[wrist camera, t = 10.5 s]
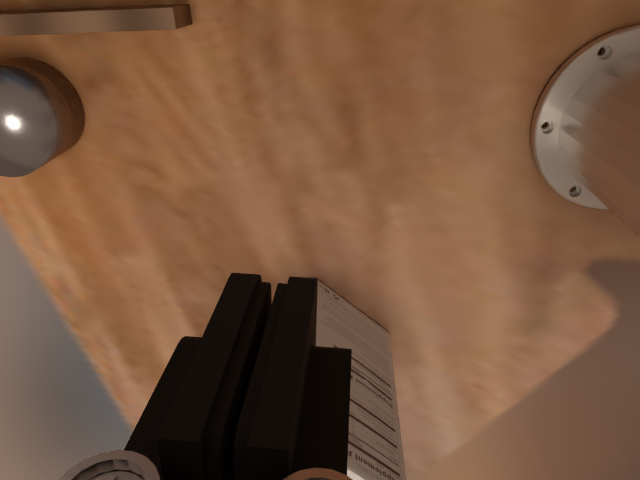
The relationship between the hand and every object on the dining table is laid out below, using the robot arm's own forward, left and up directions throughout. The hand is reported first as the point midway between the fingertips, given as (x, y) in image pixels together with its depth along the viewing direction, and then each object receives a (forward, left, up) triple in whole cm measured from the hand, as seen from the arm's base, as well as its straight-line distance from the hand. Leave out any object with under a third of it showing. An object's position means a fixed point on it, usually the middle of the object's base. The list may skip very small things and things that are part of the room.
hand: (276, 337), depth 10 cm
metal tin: (+22, +2, -28) cm, 36 cm away
